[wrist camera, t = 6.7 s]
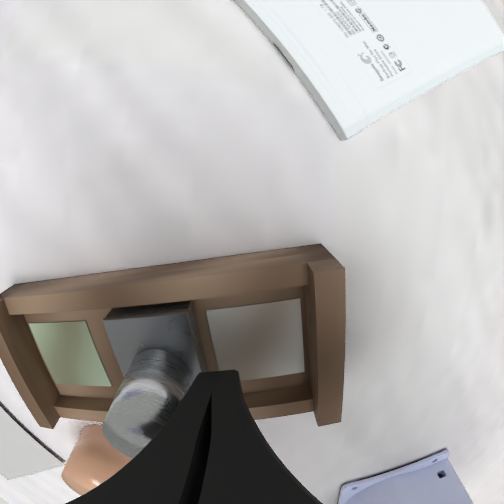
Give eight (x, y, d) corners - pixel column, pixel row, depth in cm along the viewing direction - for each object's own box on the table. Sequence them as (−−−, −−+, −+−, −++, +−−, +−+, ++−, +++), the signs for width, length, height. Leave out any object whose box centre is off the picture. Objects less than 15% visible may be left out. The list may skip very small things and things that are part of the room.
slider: (191, 298, 11) (165, 377, 7) (216, 398, 13) (210, 483, 8) (113, 306, 11) (60, 376, 7) (148, 401, 13) (124, 478, 8)
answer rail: (321, 243, 12) (344, 268, 9) (325, 380, 14) (340, 421, 11) (14, 284, 12) (-21, 308, 9) (60, 393, 14) (39, 426, 11)
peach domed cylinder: (124, 426, 15) (106, 476, 11) (147, 463, 16) (136, 510, 12) (72, 421, 15) (49, 464, 11) (97, 458, 16) (81, 499, 12)
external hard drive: (493, 52, 10) (336, 142, 12) (411, -59, 8) (223, -5, 10) (511, 47, 9) (350, 140, 10) (423, -71, 7) (222, -23, 8)
